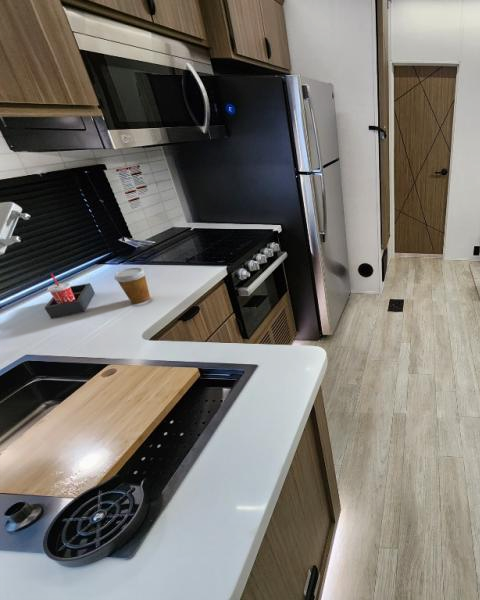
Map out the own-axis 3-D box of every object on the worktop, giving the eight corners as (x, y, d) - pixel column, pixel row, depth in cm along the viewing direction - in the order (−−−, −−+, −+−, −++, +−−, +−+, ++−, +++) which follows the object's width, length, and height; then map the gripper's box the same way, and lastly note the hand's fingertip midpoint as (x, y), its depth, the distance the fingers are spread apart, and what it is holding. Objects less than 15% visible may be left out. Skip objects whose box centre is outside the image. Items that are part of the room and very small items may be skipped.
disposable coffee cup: (152, 292, 137) (141, 265, 131) (157, 299, 131) (146, 271, 125) (124, 299, 131) (111, 272, 125) (128, 308, 125) (115, 279, 119)
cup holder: (51, 318, 119) (44, 307, 117) (65, 298, 133) (59, 288, 130) (84, 312, 123) (78, 301, 121) (95, 293, 137) (90, 283, 135)
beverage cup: (84, 302, 128) (66, 269, 121) (75, 310, 122) (56, 276, 116) (65, 305, 126) (46, 271, 119) (55, 313, 121) (35, 278, 114)
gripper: (0, 209, 122) (41, 208, 123) (-22, 258, 114) (22, 256, 115) (-19, 198, 116) (24, 197, 117) (-43, 249, 108) (4, 247, 110)
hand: (23, 227), depth 116 cm, fingers open, 8 cm apart
